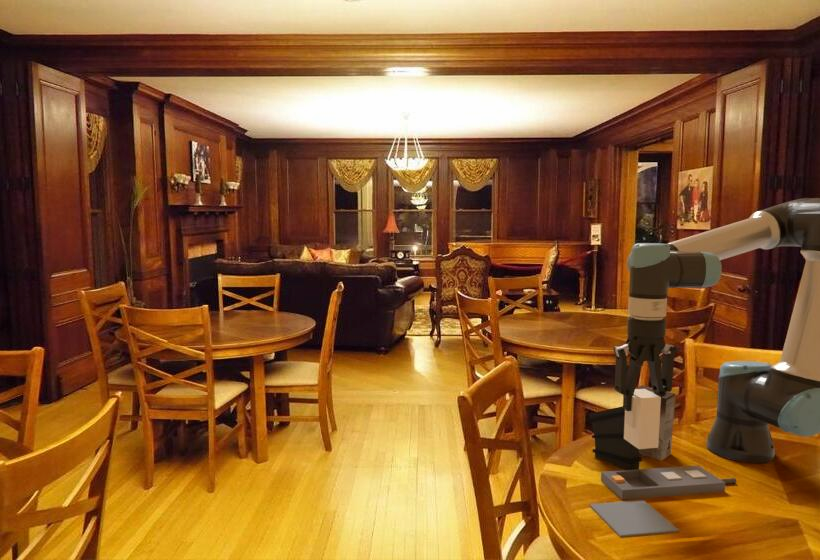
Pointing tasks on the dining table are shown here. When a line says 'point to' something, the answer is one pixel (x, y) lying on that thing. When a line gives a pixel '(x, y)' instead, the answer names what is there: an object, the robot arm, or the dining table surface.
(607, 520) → the slate mat
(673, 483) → the power strip
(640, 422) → the beige rectangular block
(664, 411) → the coffee box
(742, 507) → the dining table surface
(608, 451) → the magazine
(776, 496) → the dining table surface
